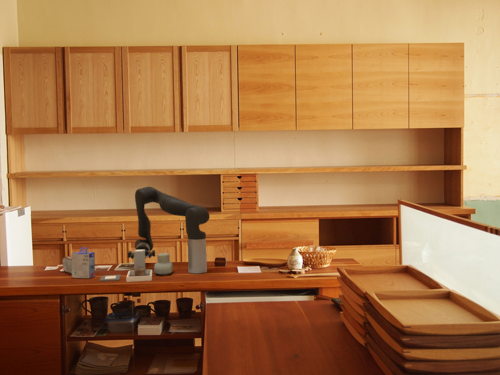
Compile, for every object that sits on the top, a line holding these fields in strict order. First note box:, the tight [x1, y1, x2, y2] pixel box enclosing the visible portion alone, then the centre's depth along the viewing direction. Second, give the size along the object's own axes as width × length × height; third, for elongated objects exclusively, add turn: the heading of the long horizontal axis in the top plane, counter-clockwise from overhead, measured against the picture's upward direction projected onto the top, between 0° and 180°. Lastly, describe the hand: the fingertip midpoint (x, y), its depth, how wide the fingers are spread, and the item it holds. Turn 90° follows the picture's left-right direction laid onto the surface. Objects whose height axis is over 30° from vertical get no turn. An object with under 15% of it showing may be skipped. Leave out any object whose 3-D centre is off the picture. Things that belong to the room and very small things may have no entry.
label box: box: [133, 249, 147, 276], centre depth 226 cm, size 5×5×13 cm
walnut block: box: [134, 268, 144, 276], centre depth 220 cm, size 4×4×5 cm
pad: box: [99, 274, 122, 282], centre depth 223 cm, size 9×9×1 cm
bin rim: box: [125, 269, 153, 283], centre depth 224 cm, size 12×13×2 cm
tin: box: [61, 255, 72, 275], centre depth 235 cm, size 15×3×8 cm, turn 47°
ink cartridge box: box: [71, 246, 96, 279], centre depth 226 cm, size 10×6×14 cm, turn 78°
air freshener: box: [153, 252, 174, 276], centre depth 231 cm, size 11×8×10 cm
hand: (141, 256), depth 237 cm, fingers open, 8 cm apart
